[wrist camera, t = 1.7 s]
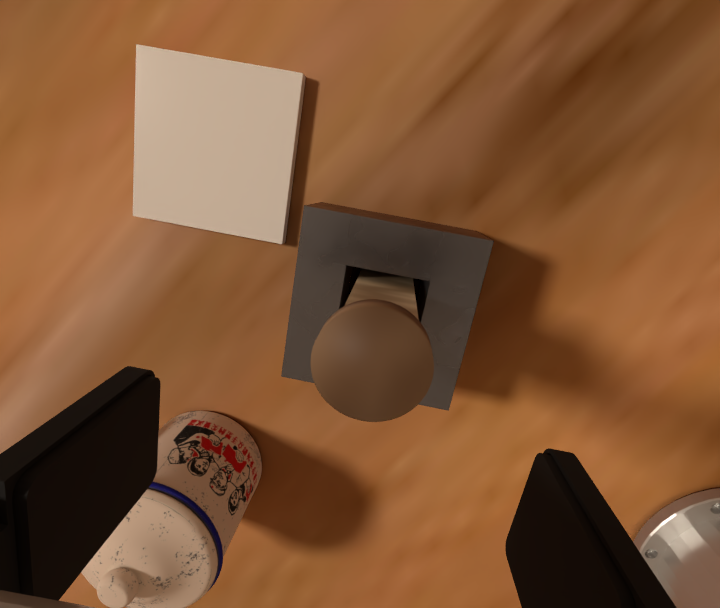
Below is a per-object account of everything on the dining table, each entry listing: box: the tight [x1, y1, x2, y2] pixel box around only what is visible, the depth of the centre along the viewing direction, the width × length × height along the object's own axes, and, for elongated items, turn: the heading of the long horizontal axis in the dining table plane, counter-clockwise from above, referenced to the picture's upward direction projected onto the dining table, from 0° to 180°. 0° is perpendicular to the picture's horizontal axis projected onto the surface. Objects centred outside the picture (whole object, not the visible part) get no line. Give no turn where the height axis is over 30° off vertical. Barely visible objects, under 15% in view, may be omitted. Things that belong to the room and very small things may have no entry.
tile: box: [133, 44, 306, 244], centre depth 26 cm, size 10×10×1 cm
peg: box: [310, 268, 434, 422], centre depth 22 cm, size 5×5×12 cm
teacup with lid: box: [82, 411, 262, 608], centre depth 27 cm, size 12×9×12 cm
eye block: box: [281, 202, 494, 411], centre depth 26 cm, size 10×10×5 cm
